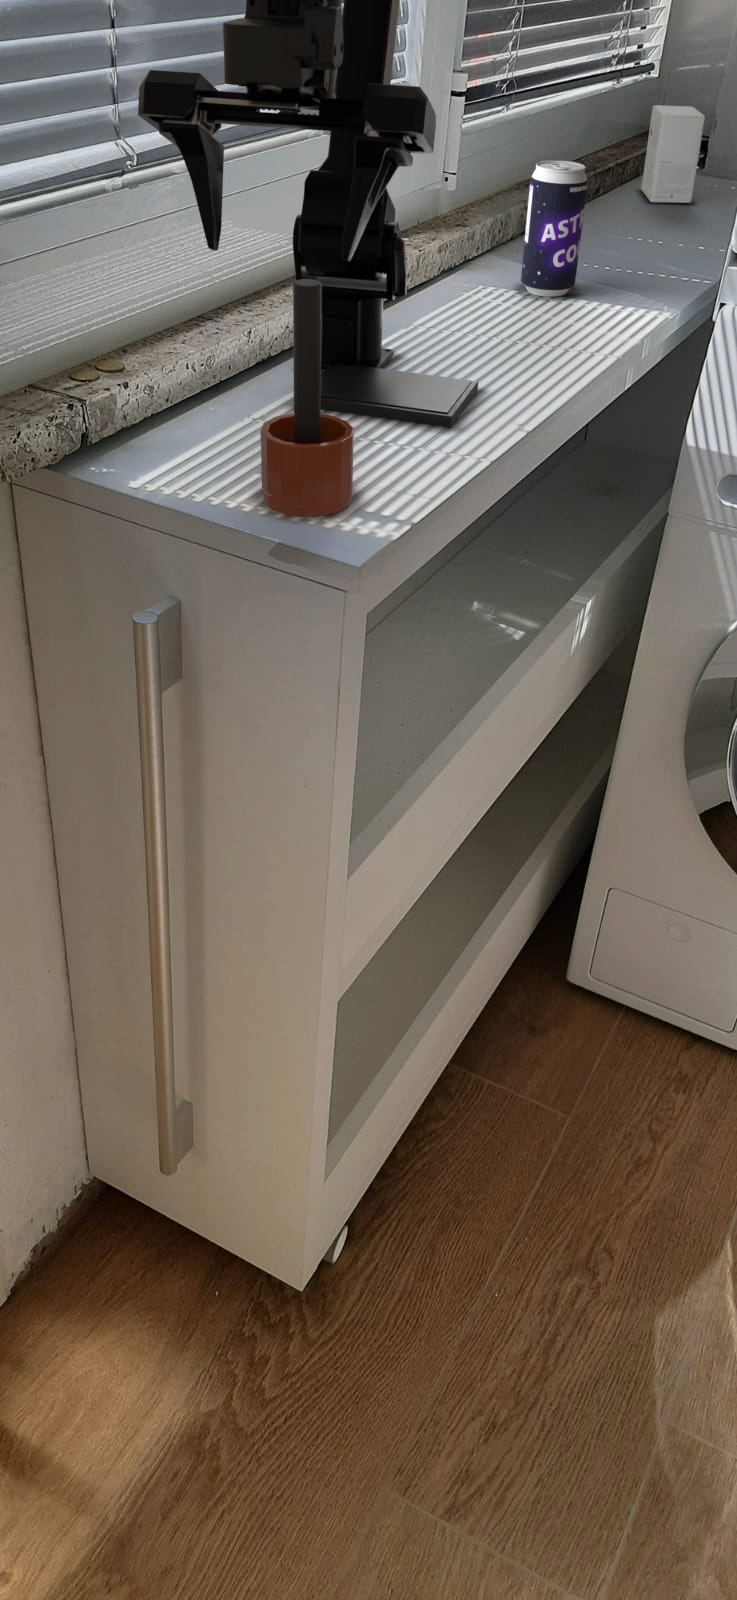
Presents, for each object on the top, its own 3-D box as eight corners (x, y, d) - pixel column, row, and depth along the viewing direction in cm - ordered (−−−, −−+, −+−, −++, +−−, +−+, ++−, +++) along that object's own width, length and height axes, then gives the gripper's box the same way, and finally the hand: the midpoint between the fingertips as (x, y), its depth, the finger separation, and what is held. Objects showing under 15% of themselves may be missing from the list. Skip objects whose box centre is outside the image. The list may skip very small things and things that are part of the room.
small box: (691, 204, 168) (706, 115, 161) (649, 203, 168) (662, 114, 161) (680, 191, 174) (694, 105, 168) (640, 190, 174) (652, 104, 168)
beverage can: (531, 300, 129) (544, 171, 122) (512, 284, 134) (523, 160, 126) (582, 297, 131) (598, 170, 123) (561, 282, 135) (575, 159, 128)
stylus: (299, 485, 89) (298, 277, 80) (323, 488, 88) (325, 280, 80) (290, 494, 87) (288, 284, 79) (315, 498, 87) (316, 287, 79)
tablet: (332, 372, 110) (333, 360, 109) (477, 391, 107) (478, 380, 106) (297, 405, 103) (297, 393, 102) (451, 427, 100) (451, 415, 99)
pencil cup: (280, 475, 91) (279, 407, 88) (363, 488, 90) (365, 420, 87) (248, 509, 87) (246, 438, 84) (336, 523, 85) (336, 451, 82)
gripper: (111, -66, 74) (101, 223, 78) (426, -51, 71) (397, 247, 75) (172, 0, 84) (160, 251, 89) (448, 14, 82) (422, 272, 86)
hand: (278, 255), depth 84 cm, fingers open, 9 cm apart
